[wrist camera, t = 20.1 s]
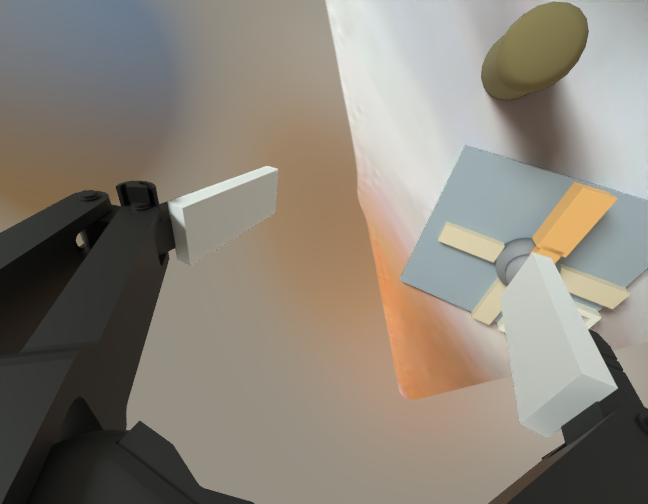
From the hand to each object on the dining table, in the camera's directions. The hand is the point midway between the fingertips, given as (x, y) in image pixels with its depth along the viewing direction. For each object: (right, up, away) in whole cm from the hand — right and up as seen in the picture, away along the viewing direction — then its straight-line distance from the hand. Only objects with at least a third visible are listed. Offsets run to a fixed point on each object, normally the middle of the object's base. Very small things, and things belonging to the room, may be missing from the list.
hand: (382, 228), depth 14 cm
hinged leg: (+22, 0, +16) cm, 27 cm away
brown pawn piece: (+16, +17, +13) cm, 27 cm away
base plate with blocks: (+21, -1, +20) cm, 29 cm away
